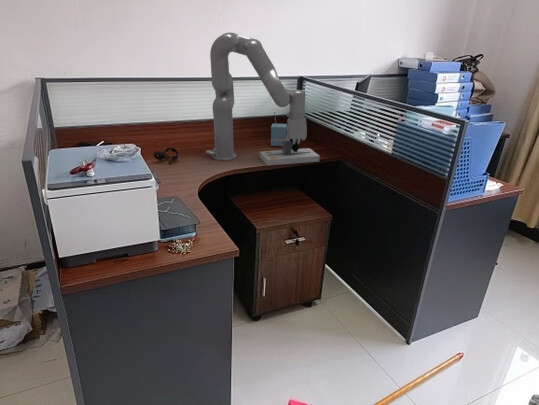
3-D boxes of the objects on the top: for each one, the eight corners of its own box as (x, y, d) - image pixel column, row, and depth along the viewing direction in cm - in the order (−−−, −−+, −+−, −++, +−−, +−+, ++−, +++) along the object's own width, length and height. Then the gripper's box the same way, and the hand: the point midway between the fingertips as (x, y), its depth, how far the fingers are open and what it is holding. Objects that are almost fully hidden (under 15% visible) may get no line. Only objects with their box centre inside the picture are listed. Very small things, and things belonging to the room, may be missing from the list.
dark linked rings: (173, 158, 202) (177, 146, 197) (176, 170, 197) (181, 159, 192) (149, 155, 196) (154, 143, 191) (153, 168, 190) (157, 156, 185)
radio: (298, 144, 229) (300, 109, 221) (298, 148, 221) (300, 113, 213) (272, 142, 231) (272, 108, 222) (270, 147, 222) (271, 112, 214)
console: (266, 165, 193) (267, 159, 191) (259, 157, 205) (259, 151, 204) (319, 161, 200) (319, 155, 199) (309, 153, 212) (309, 148, 211)
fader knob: (285, 154, 198) (285, 143, 196) (282, 151, 202) (282, 140, 200) (291, 154, 199) (291, 142, 196) (288, 151, 203) (288, 140, 201)
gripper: (285, 117, 189) (283, 154, 196) (313, 116, 193) (311, 152, 200) (280, 114, 195) (279, 150, 203) (308, 113, 199) (305, 148, 207)
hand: (295, 151), depth 201 cm, fingers closed
